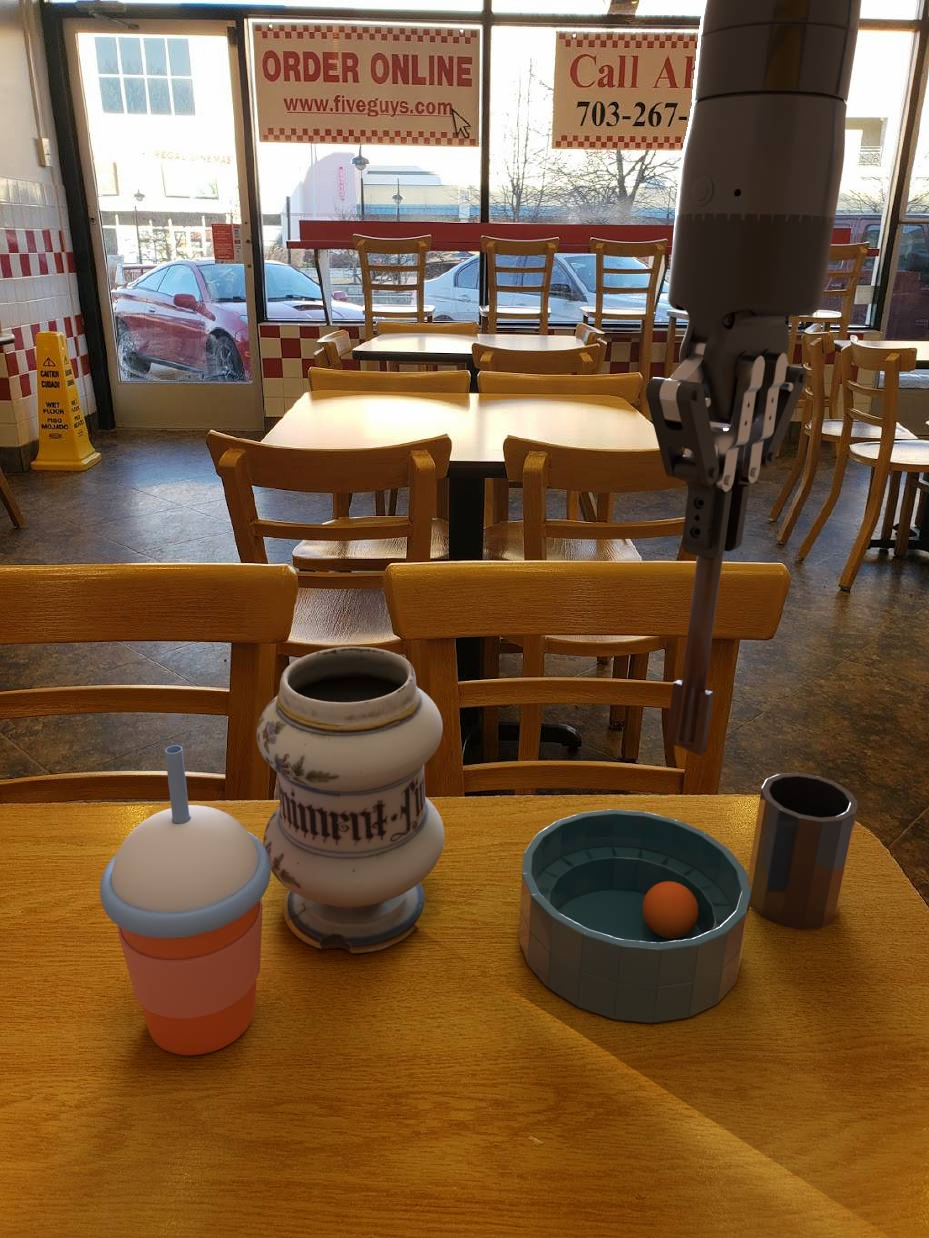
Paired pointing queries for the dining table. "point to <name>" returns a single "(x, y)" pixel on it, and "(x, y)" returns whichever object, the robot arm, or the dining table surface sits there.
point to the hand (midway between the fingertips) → (711, 549)
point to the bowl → (630, 915)
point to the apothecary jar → (351, 797)
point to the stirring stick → (696, 663)
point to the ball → (670, 910)
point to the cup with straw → (190, 919)
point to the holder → (800, 849)
